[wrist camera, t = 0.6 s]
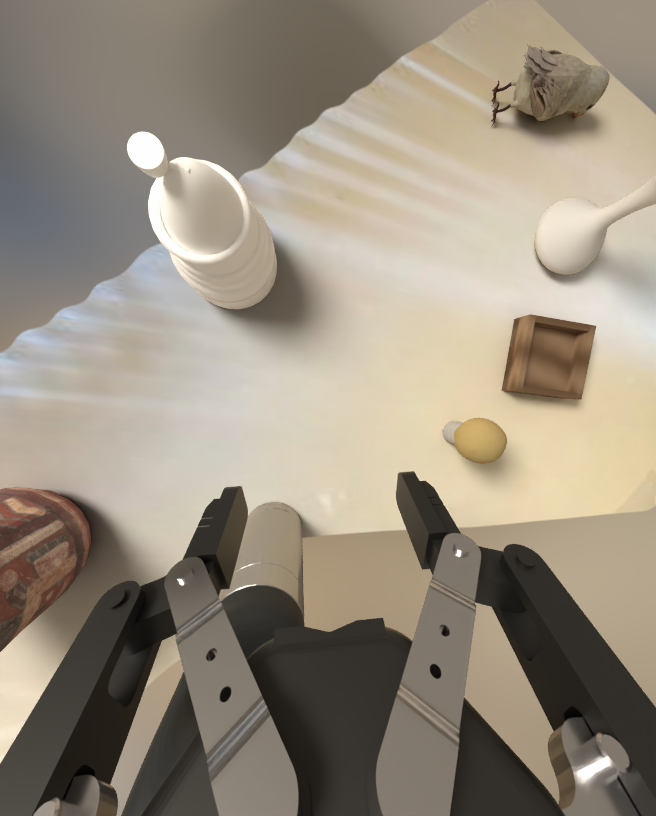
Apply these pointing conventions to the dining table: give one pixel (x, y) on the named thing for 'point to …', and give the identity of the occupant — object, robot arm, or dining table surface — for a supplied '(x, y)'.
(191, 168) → the honey pot
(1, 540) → the pottery
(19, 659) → the dining table surface
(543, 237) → the flower in vase
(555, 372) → the walnut tray
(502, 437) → the light bulb
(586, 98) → the decorative bird
